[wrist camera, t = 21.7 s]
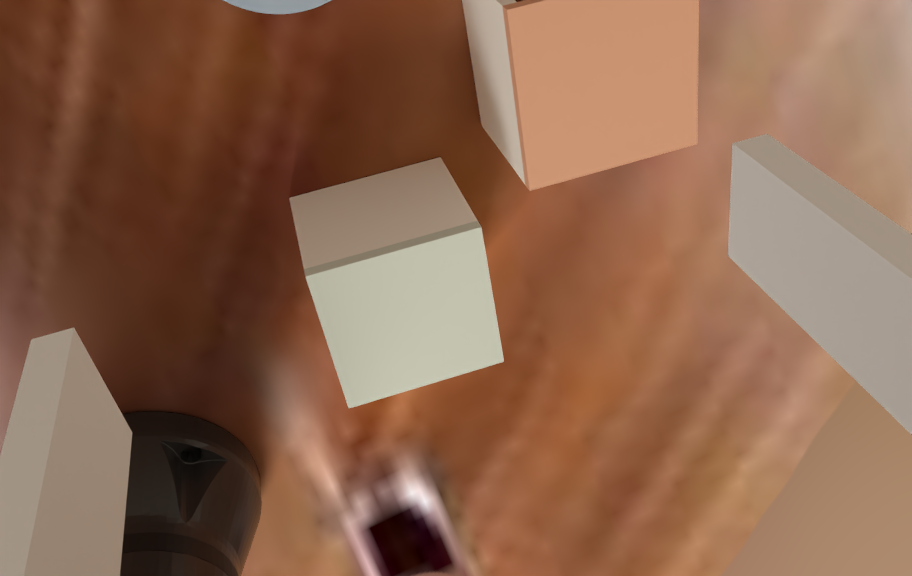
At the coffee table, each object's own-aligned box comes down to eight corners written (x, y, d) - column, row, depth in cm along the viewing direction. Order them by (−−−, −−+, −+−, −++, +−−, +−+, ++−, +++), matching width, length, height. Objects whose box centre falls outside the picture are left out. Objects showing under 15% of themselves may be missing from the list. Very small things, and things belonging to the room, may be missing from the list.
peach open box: (481, 125, 49) (529, 190, 42) (456, -35, 43) (506, 10, 36) (626, 86, 50) (697, 144, 43) (619, -75, 45) (699, -39, 38)
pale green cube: (328, 320, 54) (348, 408, 47) (289, 197, 48) (305, 276, 41) (464, 281, 55) (504, 361, 48) (440, 157, 49) (481, 226, 42)
